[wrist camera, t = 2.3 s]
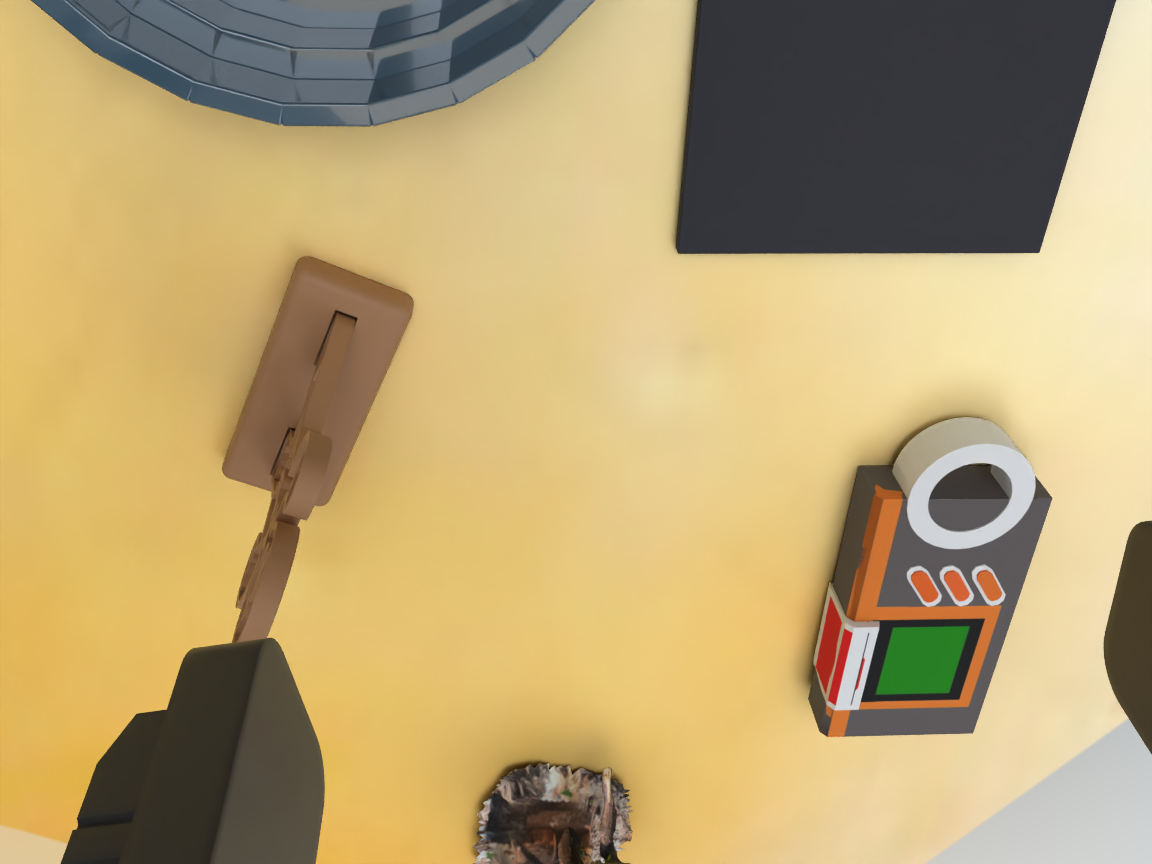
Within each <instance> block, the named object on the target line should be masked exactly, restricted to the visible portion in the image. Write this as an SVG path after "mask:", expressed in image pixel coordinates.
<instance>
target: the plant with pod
mask: <svg viewBox="0 0 1152 864" xmlns="http://www.w3.org/2000/svg"><path fill="white" fill-rule="evenodd" d="M611 772H612V769H611V768H610V767H608V768H604V769H603V771H602V774H600V775H597V774H595V773H593V772H589V771H587V770H585V769H584V768H582V767H581V768H580V769H579V770H577V771H576V772H575V773H574V774H572V771H571V767H570V765H569V766H567V767H565V768H563V767H562V766H559V767H557V768H556V767H555V765H554V766H553V767H552V768H551V769H549V763H548V764H545V765H542V764H541V763H539V764H538V765H537V766H536V767H535V768H534V767H533V766H532V765H531V764H530V765H528V766H527V767H526V768H524V769H515V770H514V771H512V772H510V773H509V775H508V776H506V775H505V776H506V777H504V776H502V777H503V778H504V779H499V780H500V782H501V783H502V784H498V785H496V786H498V787H500V788H497V789H496V790H495V791H493V792H492V793H493V794H494V795H492V796H490V797H489V800H488V801H485V802H483V803H484V805H485V808H484V809H483V810H482V811H480V812H479V813H477V814H476V815H478V816H479V817H477V818H481V820H480V821H479V823H481V826H480V828H479V831H478V833H477V834H478V835H480V836H481V837H483V838H482V839H481V840H480V841H479V842H477V843H476V844H475V845H474V846H473V848H475V849H476V850H477V851H478V852H479V853H480V854H479V855H478V856H477V857H476V858H480V859H477V860H475V861H476V862H475V863H473V864H630V863H622V862H621V861H620V860H619V859H618V857H617V851H620V850H624V849H623V848H620V847H617V846H619V845H621V844H622V843H624V842H626V841H631V838H632V836H630V835H629V834H630V833H632V832H633V831H632V830H631V828H630V825H628V824H627V823H630V822H629V821H627V820H626V819H629V815H628V812H631V811H632V810H629V809H628V808H629V807H631V806H626V805H625V804H626V803H627V802H628V801H629V799H627V798H626V797H627V796H629V795H628V794H624V793H626V792H628V791H630V790H625V789H624V788H623V785H622V784H618V783H617V780H612V779H611ZM630 831H632V832H630ZM627 833H628V834H627ZM631 835H632V834H631ZM476 858H475V859H476ZM604 862H605V863H604Z"/></svg>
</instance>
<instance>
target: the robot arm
mask: <svg viewBox="0 0 1152 864" xmlns="http://www.w3.org/2000/svg"><path fill="white" fill-rule="evenodd" d="M1104 659H1105V665H1106V670H1107V674H1108V677H1109V681H1110V684H1111V686H1112V689H1113V692H1114V694H1115V696H1116V698H1117V700H1118V702H1119V703H1120V705H1121V707H1122V708H1123V710H1124V712H1125V713H1126V715H1127V716H1128V718H1129V719H1130V721H1131V723H1132V724H1133V726H1134V727H1135V729H1136V730H1137V732H1138V733H1139V735H1140V737H1141V738H1142V740H1143V741H1144V743H1145V745H1146V746H1147V748H1148V749H1149V751H1150V752H1151V754H1152V521H1145V522H1140V523H1138V524H1137V525H1135V527H1134V528H1133V529H1132V531H1131V532H1130V534H1129V537H1128V540H1127V544H1126V548H1125V552H1124V557H1123V561H1122V565H1121V569H1120V573H1119V577H1118V581H1117V586H1116V590H1115V594H1114V598H1113V602H1112V606H1111V610H1110V614H1109V619H1108V623H1107V627H1106V631H1105V636H1104ZM324 791H325V784H324V769H323V761H322V755H321V750H320V746H319V742H318V739H317V736H316V734H315V731H314V729H313V726H312V724H311V721H310V719H309V716H308V714H307V711H306V709H305V706H304V704H303V701H302V699H301V696H300V693H299V691H298V688H297V686H296V683H295V681H294V678H293V676H292V673H291V671H290V668H289V666H288V663H287V661H286V658H285V656H284V653H283V651H282V649H281V647H280V645H279V644H278V642H277V641H276V640H275V639H273V638H265V639H258V640H251V641H243V642H236V643H229V644H221V645H214V646H207V647H199V648H193V649H191V650H190V651H189V652H188V653H187V654H186V655H185V657H184V659H183V661H182V664H181V667H180V670H179V673H178V676H177V679H176V683H175V686H174V689H173V692H172V695H171V698H170V702H169V705H168V708H167V710H161V711H154V712H146V713H139V714H136V715H135V716H134V718H133V719H132V720H131V722H130V723H129V724H128V725H127V727H126V728H125V729H124V730H123V732H122V733H121V734H120V735H119V737H118V738H117V739H116V740H115V742H114V743H113V744H112V746H111V747H110V748H109V749H108V751H107V752H106V753H105V754H104V756H103V757H102V758H101V759H100V761H99V762H98V763H97V765H96V768H95V771H94V773H93V776H92V779H91V782H90V784H89V787H88V790H87V793H86V795H85V798H84V801H83V804H82V806H81V809H80V812H79V815H78V817H77V820H78V828H77V830H73V831H72V834H71V837H70V840H69V842H68V845H67V848H66V851H65V853H64V856H63V859H62V862H61V864H315V863H316V857H317V850H318V843H319V836H320V829H321V822H322V815H323V807H324Z"/></svg>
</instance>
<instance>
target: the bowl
mask: <svg viewBox="0 0 1152 864" xmlns="http://www.w3.org/2000/svg"><path fill="white" fill-rule="evenodd" d="M31 1H32V2H34V3H35V4H36V5H37V6H38V7H40V8H41V9H42V10H43V11H45V12H46V13H47V14H48V15H49V16H51V17H52V18H53V19H54V20H55V21H57V22H58V23H59V24H60V25H62V26H63V27H64V28H65V29H66V30H68V31H69V32H70V33H71V34H72V35H74V36H75V37H76V38H77V39H78V40H80V41H81V42H82V43H83V44H85V45H86V46H87V47H88V48H89V49H91V50H92V51H93V52H94V53H98V55H100V56H101V57H103V58H105V59H107V60H109V61H111V62H113V63H115V64H117V65H119V66H121V67H123V68H124V69H126V70H128V71H130V72H132V73H134V74H136V75H138V76H140V77H142V78H144V79H146V80H148V81H150V82H151V83H153V84H155V85H157V86H159V87H161V88H163V89H165V90H167V91H169V92H171V93H173V94H175V95H176V96H178V97H180V98H182V99H184V100H186V101H189V100H190V102H191V103H195V104H199V105H203V106H206V107H210V108H214V109H218V110H222V111H226V112H230V113H234V114H237V115H241V116H245V117H249V118H253V119H257V120H261V121H265V122H268V123H272V124H276V125H281V124H282V125H283V126H358V127H370V126H372V125H373V126H377V125H381V124H385V123H389V122H392V121H396V120H400V119H404V118H408V117H412V116H416V115H419V114H423V113H427V112H431V111H435V110H439V109H442V108H446V107H450V106H454V105H457V103H462V102H463V101H465V100H467V99H469V98H470V97H472V96H474V95H476V94H477V93H479V92H481V91H483V90H484V89H486V88H488V87H490V86H491V85H493V84H495V83H496V82H498V81H500V80H502V79H503V78H505V77H507V76H509V75H510V74H512V73H514V72H516V71H517V70H519V69H521V68H522V67H524V66H526V65H528V64H529V63H531V62H533V61H534V60H535V57H536V58H538V57H539V56H540V55H541V54H542V53H543V52H544V51H545V50H546V49H547V48H548V47H549V46H550V45H551V44H552V43H553V42H554V41H555V40H556V39H557V38H558V37H559V36H560V35H561V34H562V33H563V32H564V31H565V30H566V29H567V28H568V27H569V26H570V25H571V24H572V23H573V22H574V21H575V20H576V19H577V18H578V17H579V16H580V15H581V14H582V13H583V12H584V11H585V10H586V9H587V8H588V7H589V6H590V5H591V4H592V3H593V2H594V1H595V0H31Z"/></svg>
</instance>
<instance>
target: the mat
mask: <svg viewBox="0 0 1152 864" xmlns="http://www.w3.org/2000/svg"><path fill="white" fill-rule="evenodd" d="M1115 2H1116V0H698V7H697V18H696V29H695V40H694V51H693V62H692V73H691V84H690V95H689V106H688V117H687V128H686V139H685V150H684V161H683V172H682V183H681V194H680V205H679V216H678V227H677V238H676V249H677V252H678V253H679V254H748V253H1039V252H1040V249H1041V245H1042V242H1043V239H1044V236H1045V232H1046V229H1047V226H1048V222H1049V219H1050V216H1051V213H1052V209H1053V206H1054V203H1055V199H1056V196H1057V193H1058V190H1059V186H1060V183H1061V180H1062V176H1063V173H1064V170H1065V166H1066V163H1067V160H1068V157H1069V153H1070V150H1071V147H1072V143H1073V140H1074V137H1075V134H1076V130H1077V127H1078V124H1079V120H1080V117H1081V114H1082V110H1083V107H1084V104H1085V101H1086V97H1087V94H1088V91H1089V87H1090V84H1091V81H1092V78H1093V74H1094V71H1095V68H1096V64H1097V61H1098V58H1099V55H1100V51H1101V48H1102V45H1103V41H1104V38H1105V35H1106V31H1107V28H1108V25H1109V22H1110V18H1111V15H1112V12H1113V8H1114V5H1115Z"/></svg>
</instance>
